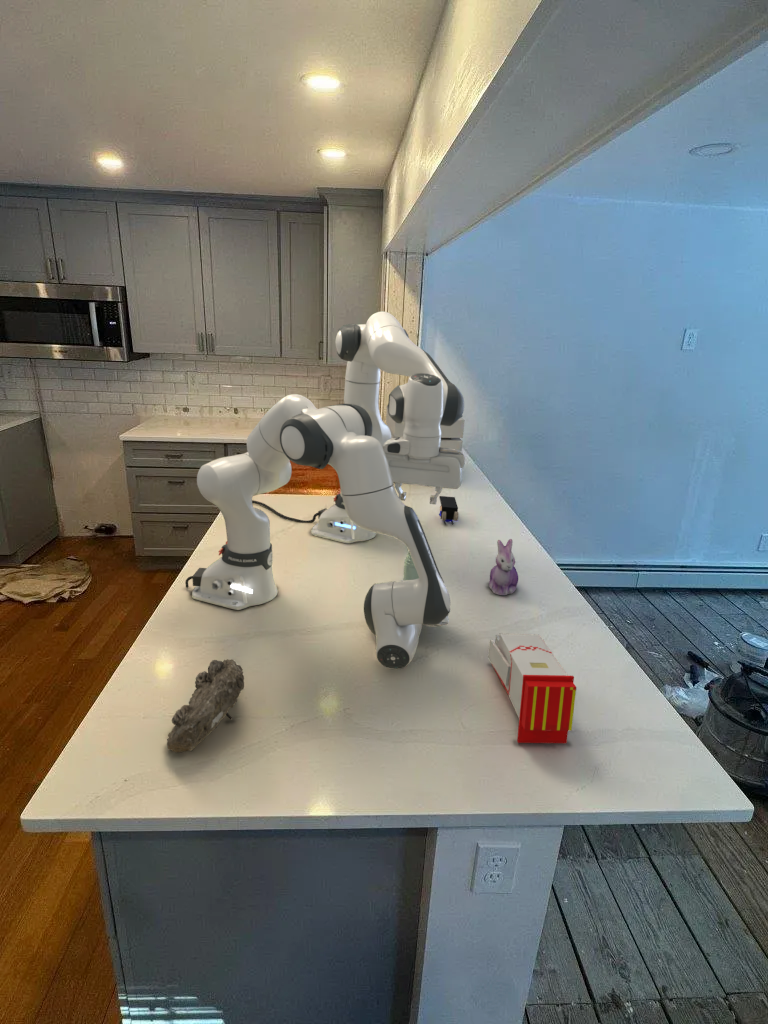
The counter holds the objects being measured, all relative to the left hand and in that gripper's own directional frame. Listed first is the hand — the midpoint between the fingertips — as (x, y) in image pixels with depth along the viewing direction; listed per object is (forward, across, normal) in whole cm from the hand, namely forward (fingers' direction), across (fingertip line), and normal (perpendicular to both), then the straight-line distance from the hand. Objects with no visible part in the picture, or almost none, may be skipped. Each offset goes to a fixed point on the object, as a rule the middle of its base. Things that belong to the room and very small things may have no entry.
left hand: (411, 593), depth 147 cm
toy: (-28, -27, +6) cm, 40 cm away
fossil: (-49, +32, +6) cm, 58 cm away
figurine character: (+72, -4, +6) cm, 73 cm away
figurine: (+20, -24, +6) cm, 32 cm away
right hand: (-1, 0, -25) cm, 25 cm away
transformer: (+134, +14, +6) cm, 135 cm away
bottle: (-1, 0, +6) cm, 6 cm away
